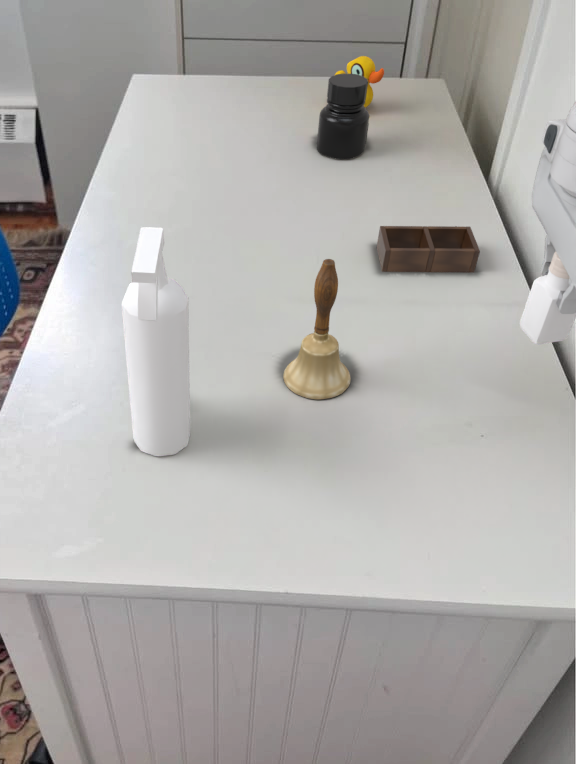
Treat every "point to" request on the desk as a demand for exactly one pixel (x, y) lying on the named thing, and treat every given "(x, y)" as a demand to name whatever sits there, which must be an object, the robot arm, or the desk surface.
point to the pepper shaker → (547, 307)
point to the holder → (427, 249)
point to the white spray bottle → (157, 350)
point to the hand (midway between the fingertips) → (557, 293)
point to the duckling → (365, 74)
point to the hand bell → (319, 347)
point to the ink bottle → (344, 118)
